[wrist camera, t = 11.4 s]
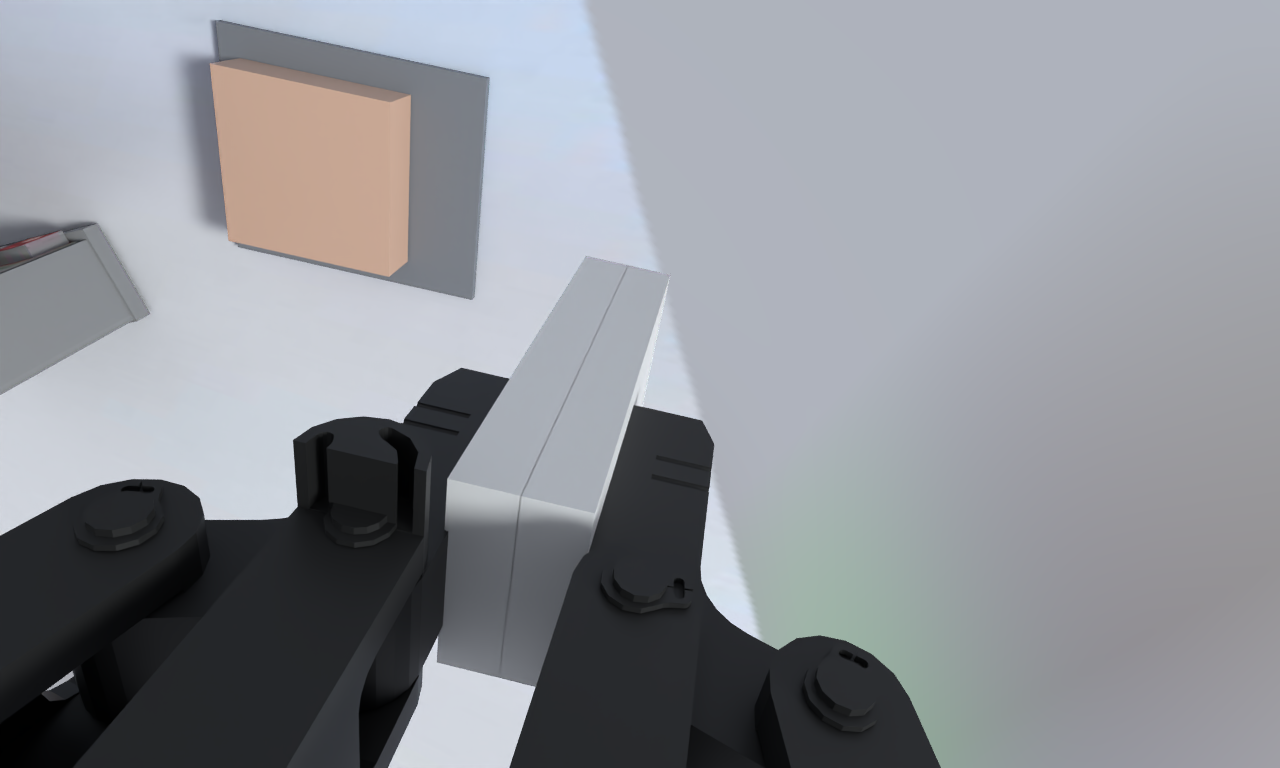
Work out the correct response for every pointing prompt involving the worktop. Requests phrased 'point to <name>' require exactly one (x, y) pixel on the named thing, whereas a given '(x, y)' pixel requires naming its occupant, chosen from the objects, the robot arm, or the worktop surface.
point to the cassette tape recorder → (59, 300)
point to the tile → (313, 165)
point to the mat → (438, 147)
